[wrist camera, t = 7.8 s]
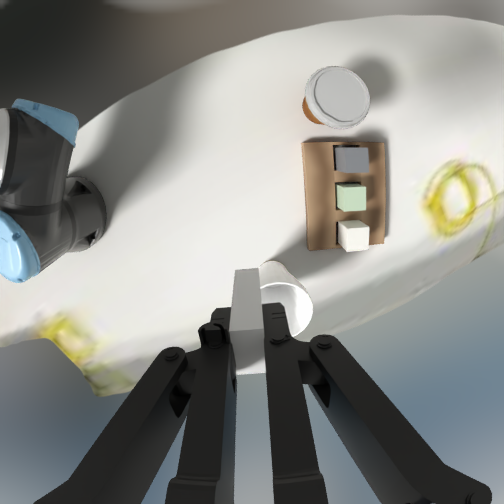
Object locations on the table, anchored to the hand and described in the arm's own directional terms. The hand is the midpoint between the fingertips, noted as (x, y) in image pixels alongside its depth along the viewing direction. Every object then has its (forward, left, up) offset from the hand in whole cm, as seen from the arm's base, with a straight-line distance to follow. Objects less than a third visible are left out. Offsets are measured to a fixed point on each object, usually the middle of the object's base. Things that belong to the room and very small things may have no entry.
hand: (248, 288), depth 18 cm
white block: (+18, -7, -31) cm, 36 cm away
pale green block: (+17, 0, -32) cm, 37 cm away
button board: (+18, 0, -32) cm, 37 cm away
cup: (+3, -14, -33) cm, 36 cm away
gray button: (+18, +7, -31) cm, 36 cm away
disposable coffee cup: (+14, +16, -33) cm, 39 cm away
